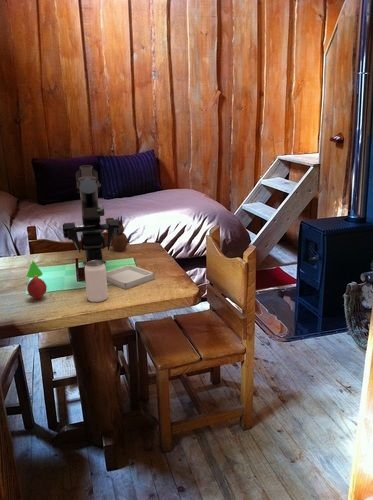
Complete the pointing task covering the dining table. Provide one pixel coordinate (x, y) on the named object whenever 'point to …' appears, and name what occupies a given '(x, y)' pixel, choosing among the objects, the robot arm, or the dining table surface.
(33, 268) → the green pyramid
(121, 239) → the brown rounded spiky piece
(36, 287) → the red rounded piece
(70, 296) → the dining table surface
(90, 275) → the can
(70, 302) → the dining table surface
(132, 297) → the dining table surface
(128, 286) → the tray
